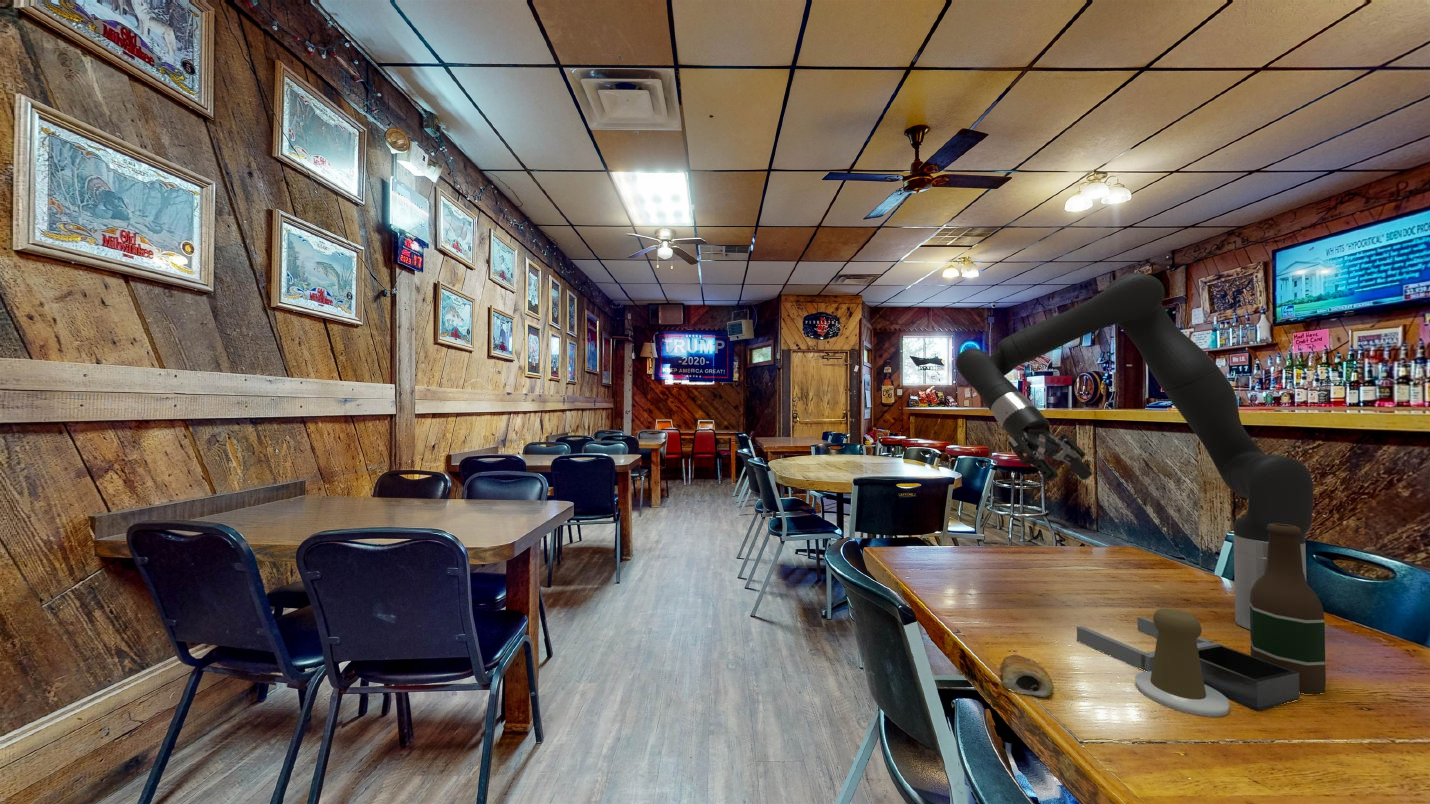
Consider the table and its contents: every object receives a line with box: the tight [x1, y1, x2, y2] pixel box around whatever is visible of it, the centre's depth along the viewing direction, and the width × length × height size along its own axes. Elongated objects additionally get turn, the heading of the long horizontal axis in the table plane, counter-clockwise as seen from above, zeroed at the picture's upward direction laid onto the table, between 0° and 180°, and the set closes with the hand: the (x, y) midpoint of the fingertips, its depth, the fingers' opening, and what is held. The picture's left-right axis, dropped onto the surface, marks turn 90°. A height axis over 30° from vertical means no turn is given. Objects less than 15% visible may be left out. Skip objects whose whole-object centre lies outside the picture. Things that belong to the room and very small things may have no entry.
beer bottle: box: [1249, 523, 1327, 694], centre depth 77 cm, size 8×8×24 cm
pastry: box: [999, 654, 1055, 698], centre depth 77 cm, size 9×7×4 cm
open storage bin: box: [1198, 643, 1301, 712], centre depth 75 cm, size 9×9×4 cm
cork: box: [1150, 608, 1206, 700], centre depth 73 cm, size 6×6×11 cm
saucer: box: [1135, 671, 1230, 718], centre depth 73 cm, size 10×10×1 cm
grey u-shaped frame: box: [1076, 616, 1219, 672], centre depth 87 cm, size 16×12×2 cm
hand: (1071, 477), depth 96 cm, fingers open, 8 cm apart
